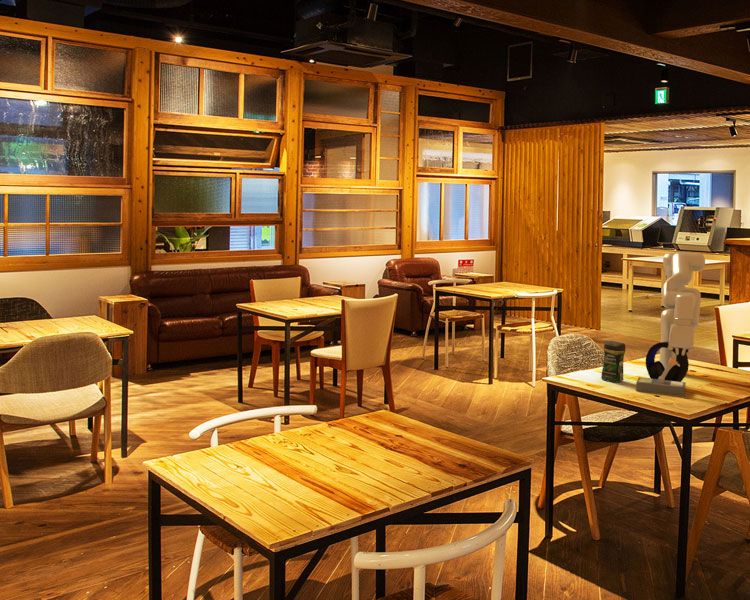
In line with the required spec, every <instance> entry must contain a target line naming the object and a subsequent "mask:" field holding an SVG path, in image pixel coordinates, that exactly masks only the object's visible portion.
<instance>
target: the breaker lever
mask: <svg viewBox="0 0 750 600" xmlns="http://www.w3.org/2000/svg"><path fill="white" fill-rule="evenodd" d="M675 362H676V360H675V359H673V358H670V360H669V362H668V363H669V364H668V365H667V367H666V369H665V370H664V372H663V374H662V375H661V377H660V378H665V376H666V375H667V373H668V371H669V370H670V368H671V366H672V365H674V363H675Z"/></svg>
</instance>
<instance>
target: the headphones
mask: <svg viewBox="0 0 750 600" xmlns="http://www.w3.org/2000/svg"><path fill="white" fill-rule="evenodd" d="M668 345H669V341H667V342H661V341H660V342H657V343H655V344H653V345H652V346H651V347H650V348H649V349H648V351H647V353H646V356H645V368H646V371H647V373H648V376H649V378H651V379H658V378H659V376H661V375H662V374H663V372H664V370H665V368H664V366H663V364H662V363H661V362H660V361H659V360H656V361H655V359H656V355H657V353H658V351H660V349H661V348H663V347H664V348H668ZM682 350H683V348H679V353H680V355H681V353H682ZM672 351H673V350H672ZM673 352H674V351H673ZM674 353H675V352H674ZM675 354H676V353H675ZM687 354H688V353H686V354H685V355H684V358H683V362H681V364H680V361H679V366H678V365H674V366H673V367H672V368H671V369H670V370H669V371H668V373H667V375H666V376H665V379H664V380H668V381H677V382H683V380H684V379H685V377H686V375H687V374H688V371H689V367H690V366H689V365H690V363H689V357H688V355H687Z"/></svg>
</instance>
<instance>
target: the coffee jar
mask: <svg viewBox="0 0 750 600" xmlns="http://www.w3.org/2000/svg"><path fill="white" fill-rule="evenodd" d="M602 350H603V355H604V356H603V362H602V363H603V365H602V370H601V376H600V379H602V380H603V381H607V382H612V383H621V382H623V381H624V357H625V353H626V352H627V351H626V344H625V343H624V342H619V341H614V340H608V341H607V340H606V341H605V342H604V344H603V349H602Z"/></svg>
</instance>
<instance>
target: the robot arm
mask: <svg viewBox="0 0 750 600" xmlns="http://www.w3.org/2000/svg"><path fill="white" fill-rule="evenodd" d="M662 261H663V262H662V263H663V264H662V265H663V269H664V272H665V275H666V281H665V282H664V283H663V285H662V290H661V302H662V305H663V307H664V308H667V309H664V310H662V311H661V314H660V324H661V325H660V326H661V331H660V332H661V333H660V336H661V337H660V342H667V341H669V345H668V348H664V347H663V348H661V349H659V358H658V359H659V360H658V361H660V362H661V363H662V364H663V366H664V368H665V369H666V367H667V365H668V364H669V363H668V362H669V360H670V358H673V359H675V360H676V362H675V363H674V365H678V366H680V365H679V361H680V364H681V362H683V358H684V355H685V354H688V353H691V352H694V351H695V350H694V343H695V330H696V329H697V328H698V327H699V322H700V314H701V313H700V312H701V292H700V290H699V289H698V288H695V287H694V288H693V287H686V285H688V284H690V282H692V279H693V273H692V272H703V271H704V269H705V267H706V258H705V256H704V254H703V253H700V252H687V251H684V252H683V251H681V252H667V253H665V254H664V255H663V258H662ZM679 348H683V350H682V353H681V355H680V353H679ZM672 350H673V351H674V352H675V353H676V354H675V353H674V352H673V351H672ZM674 365H672V366H671V368H672V367H673V366H674ZM671 368H670V369H671Z"/></svg>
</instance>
